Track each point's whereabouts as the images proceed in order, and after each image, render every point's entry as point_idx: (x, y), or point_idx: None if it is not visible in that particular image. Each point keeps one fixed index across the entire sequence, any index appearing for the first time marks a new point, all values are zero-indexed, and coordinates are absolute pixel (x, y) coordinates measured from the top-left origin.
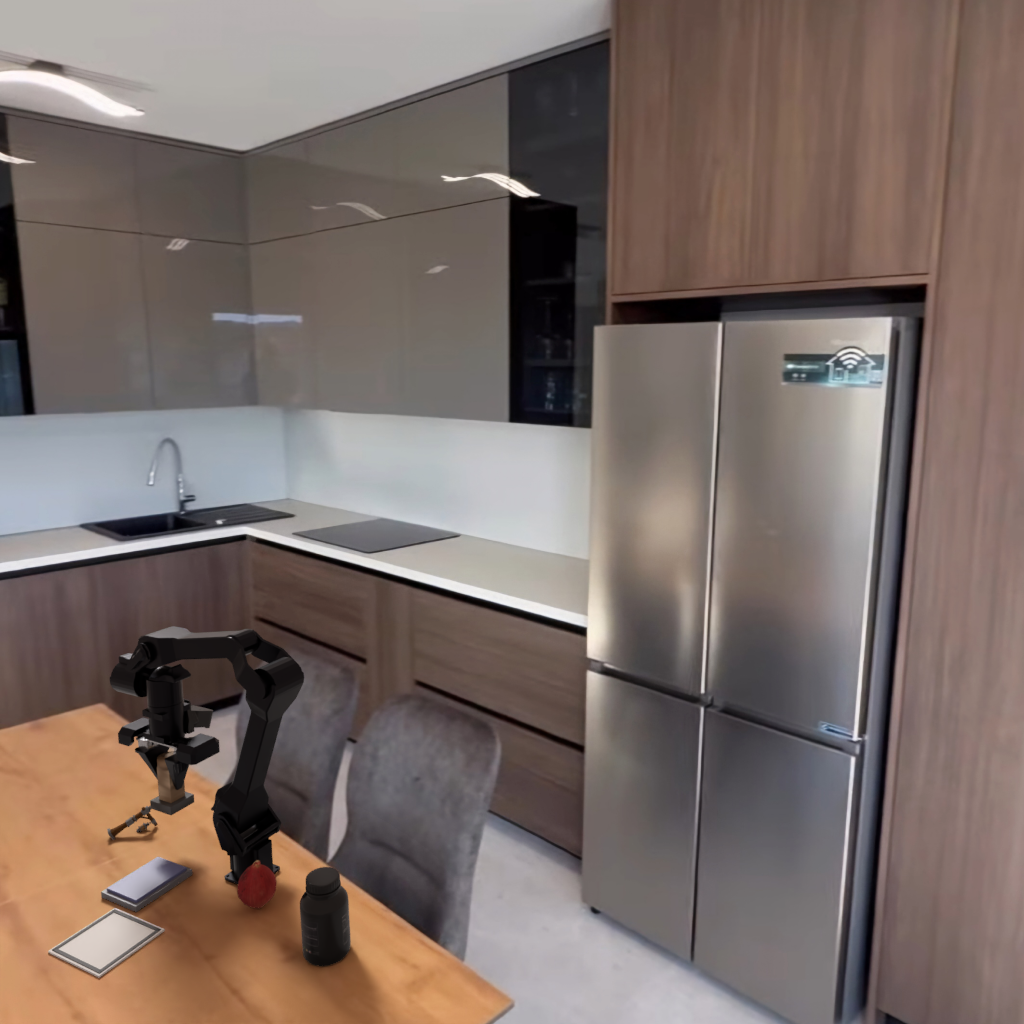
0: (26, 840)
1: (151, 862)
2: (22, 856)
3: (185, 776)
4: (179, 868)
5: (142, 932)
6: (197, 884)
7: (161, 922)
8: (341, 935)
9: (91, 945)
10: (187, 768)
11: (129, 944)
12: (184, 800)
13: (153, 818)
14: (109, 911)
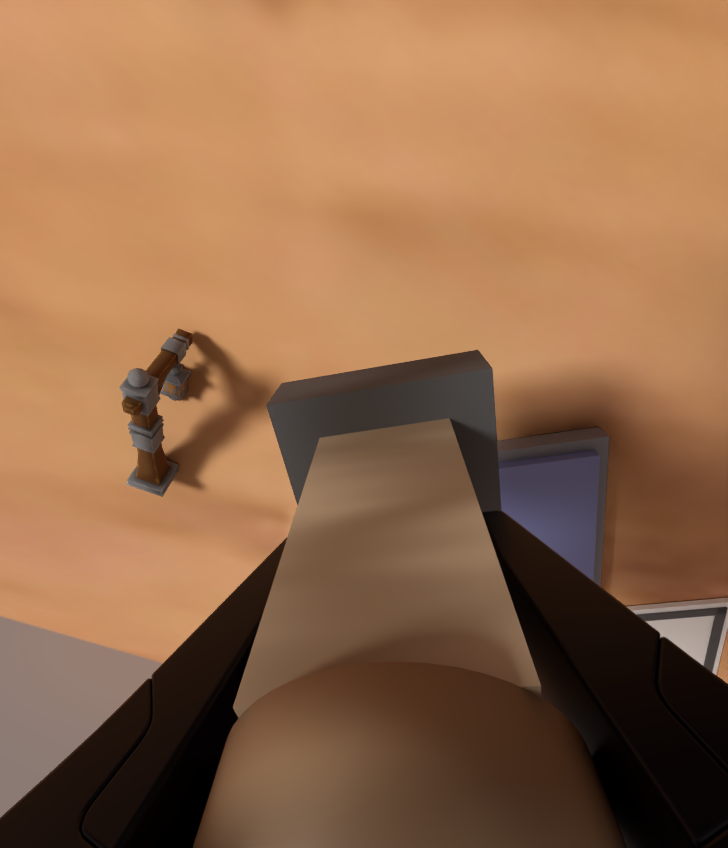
0: (20, 593)
1: None
2: (104, 625)
3: (579, 570)
4: (580, 471)
5: (684, 630)
6: (659, 445)
7: (692, 585)
8: None
9: None
10: (700, 674)
11: None
12: (495, 448)
13: (169, 351)
14: None
